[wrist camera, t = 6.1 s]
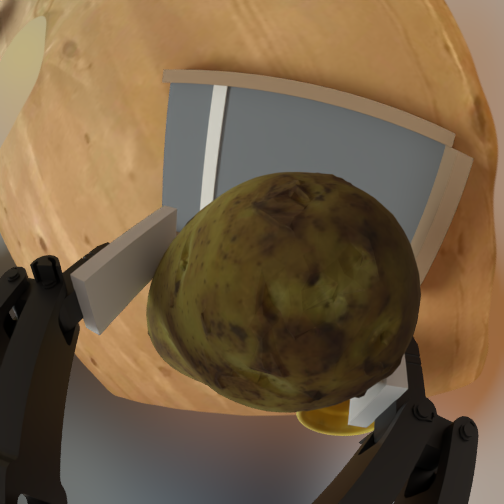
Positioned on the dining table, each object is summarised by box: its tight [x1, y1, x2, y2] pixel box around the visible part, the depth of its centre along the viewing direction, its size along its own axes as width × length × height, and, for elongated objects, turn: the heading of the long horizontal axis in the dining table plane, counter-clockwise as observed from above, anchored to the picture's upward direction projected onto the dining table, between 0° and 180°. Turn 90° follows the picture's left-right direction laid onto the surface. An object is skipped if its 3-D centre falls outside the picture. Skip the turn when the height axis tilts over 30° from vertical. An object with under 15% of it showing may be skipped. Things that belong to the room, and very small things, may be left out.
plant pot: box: [296, 399, 374, 436], centre depth 27 cm, size 10×10×10 cm
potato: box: [146, 172, 421, 413], centre depth 10 cm, size 8×13×8 cm, turn 115°
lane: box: [162, 70, 474, 286], centre depth 22 cm, size 17×26×4 cm
